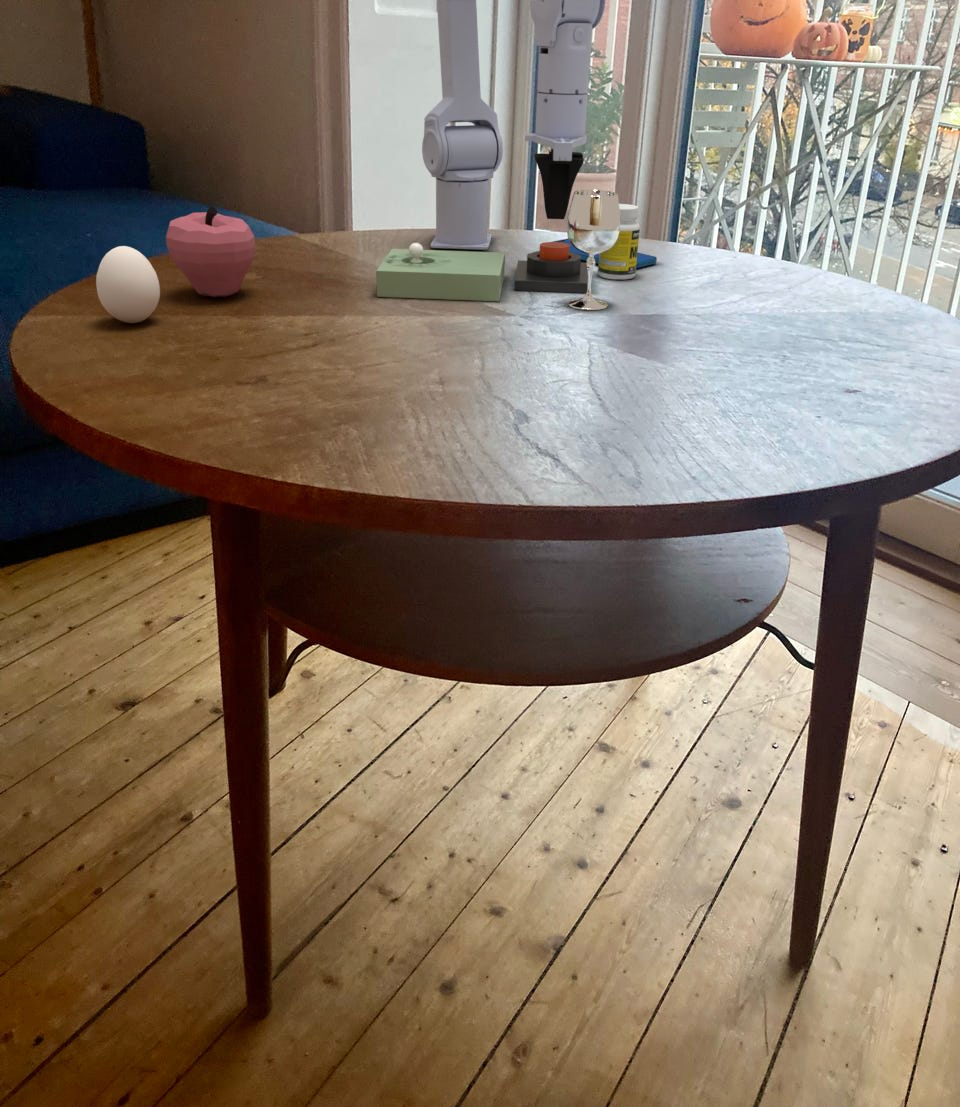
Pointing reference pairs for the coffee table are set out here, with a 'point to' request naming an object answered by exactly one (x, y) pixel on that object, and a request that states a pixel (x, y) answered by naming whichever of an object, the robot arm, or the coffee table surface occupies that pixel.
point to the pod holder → (442, 275)
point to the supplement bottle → (622, 247)
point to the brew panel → (551, 274)
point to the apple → (211, 251)
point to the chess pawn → (416, 253)
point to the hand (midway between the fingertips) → (555, 218)
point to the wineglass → (592, 233)
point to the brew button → (554, 251)
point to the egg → (127, 285)
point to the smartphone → (641, 258)
